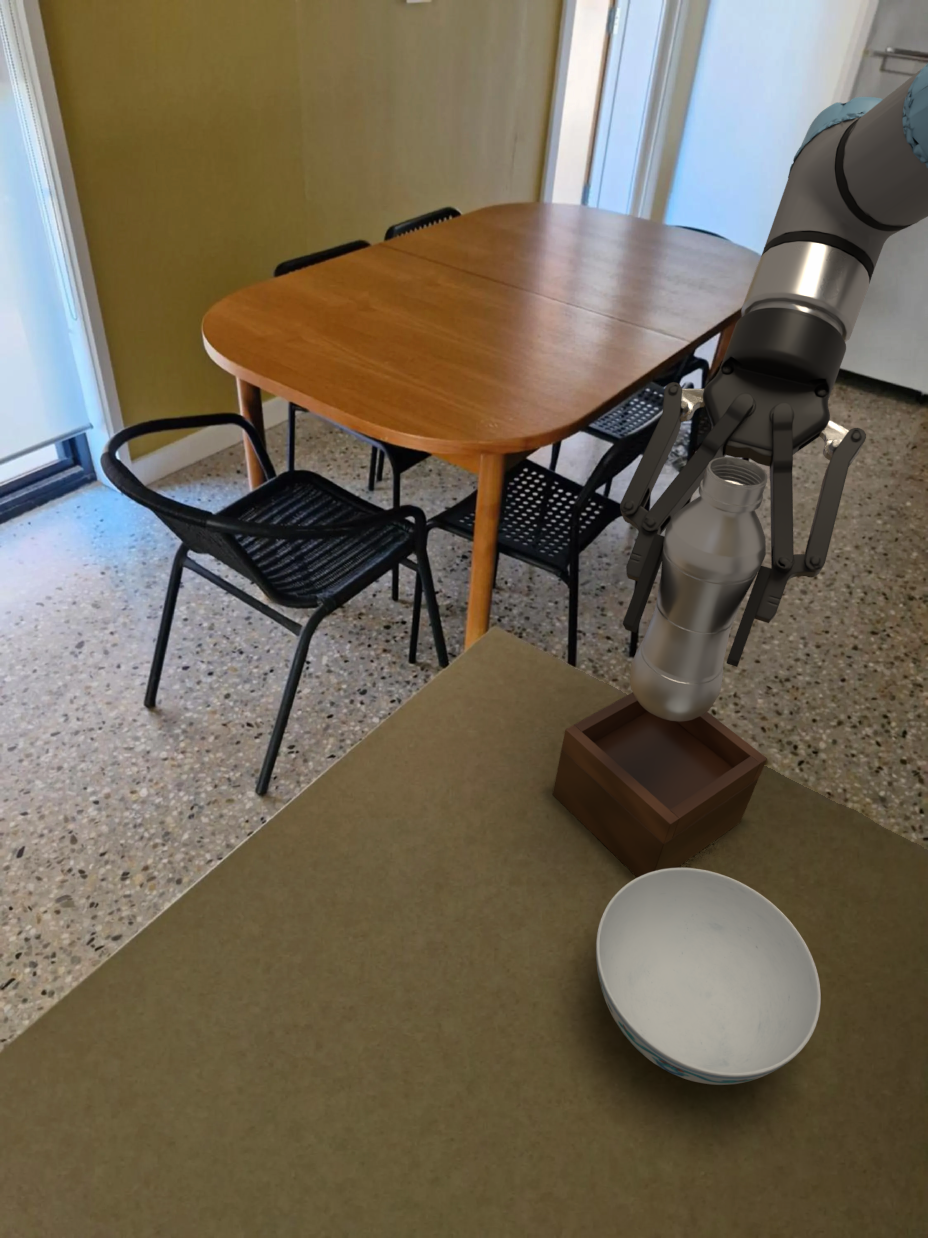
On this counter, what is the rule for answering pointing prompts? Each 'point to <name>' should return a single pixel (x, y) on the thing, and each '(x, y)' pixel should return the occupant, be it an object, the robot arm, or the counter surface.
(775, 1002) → the chinaware
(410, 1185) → the counter surface
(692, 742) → the walnut box
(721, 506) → the metal bottle
